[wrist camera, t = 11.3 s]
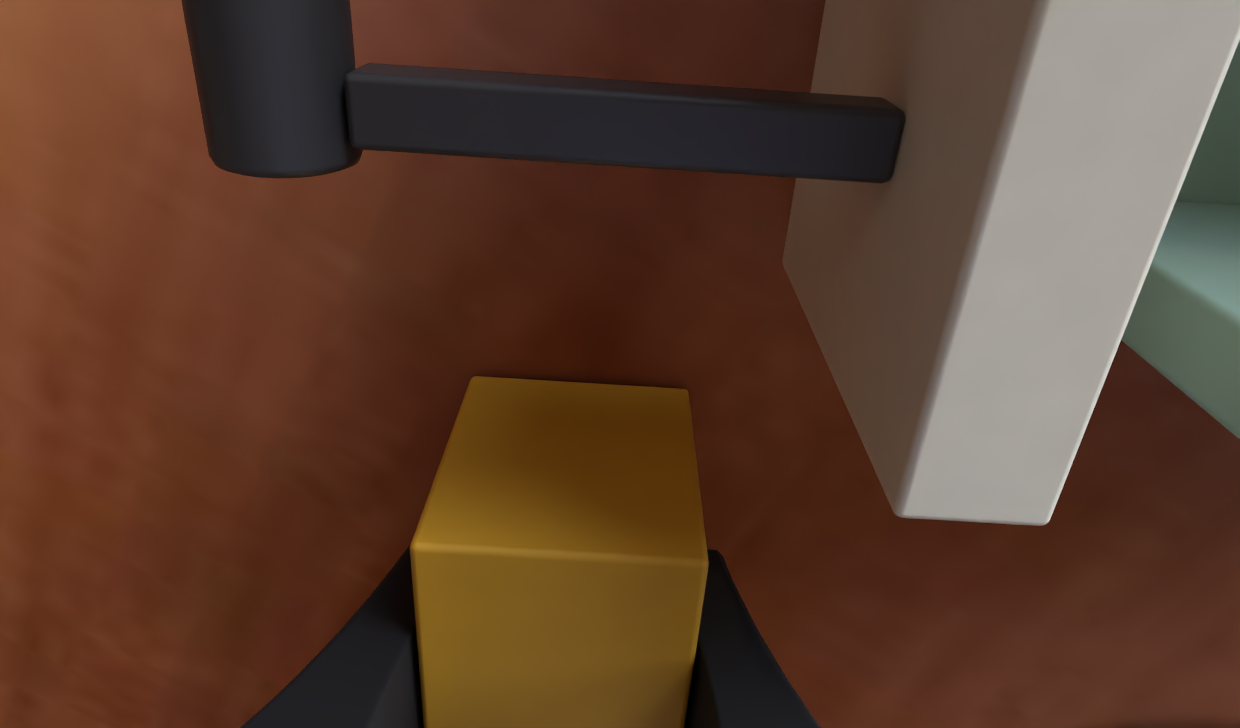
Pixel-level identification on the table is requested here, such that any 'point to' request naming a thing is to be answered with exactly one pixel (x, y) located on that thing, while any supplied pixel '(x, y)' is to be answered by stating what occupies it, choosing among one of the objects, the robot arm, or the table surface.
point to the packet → (561, 559)
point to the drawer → (874, 199)
